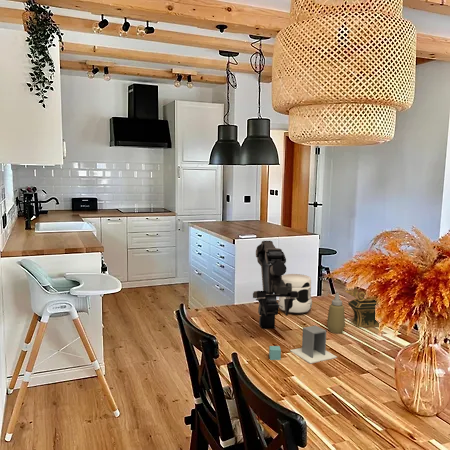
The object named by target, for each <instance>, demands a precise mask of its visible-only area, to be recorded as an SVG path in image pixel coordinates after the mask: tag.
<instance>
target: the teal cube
mask: <svg viewBox="0 0 450 450" xmlns="http://www.w3.org/2000/svg"><path fill="white" fill-rule="evenodd" d="M268 348H269V349H268V350H269V351H268V356H269V360H270V361H281V359H282V358H281V356H282V355H281V354H282V350H281V346H280V345H269V347H268Z"/></svg>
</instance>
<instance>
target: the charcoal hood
mask: <svg viewBox="0 0 450 450" xmlns="http://www.w3.org/2000/svg"><path fill="white" fill-rule="evenodd" d="M301 336H302V339H301V341H302V343H301V348H302V352H303V353H305V354H306V355H308V356H310V357H311V358H313V350H316V351H318V352H319V353H321V354H323V355H325V351H327V349H326V347H327V346H326V345H327V330H325V329H324V328H322V327H320V326H318V325H310V326H305V327H302V335H301Z"/></svg>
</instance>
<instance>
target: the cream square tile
mask: <svg viewBox="0 0 450 450" xmlns="http://www.w3.org/2000/svg"><path fill="white" fill-rule="evenodd" d="M290 353H293V354H294V355H296V356H297V357H299V358H300V359H302V360H304V362H307V364H315V363H316V364H317V363H321V362H325V361H328V360H333V359H338V356H337V355H335V354H333V353H331V352H330V351H328V350H326V351H325V355H323V354H321V353H319V352H318V351H316V350H313V358H311V357H310V356H308V355H306V354H305V353H303V352H302V347H299V348H294V349H293V348H292V349H290ZM320 361H321V362H320Z"/></svg>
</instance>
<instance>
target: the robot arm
mask: <svg viewBox="0 0 450 450" xmlns="http://www.w3.org/2000/svg"><path fill="white" fill-rule="evenodd" d="M255 257H256V259H257V263H258V264H259V266H260V267H261V268H260V270H261V282H262V284H261V285H262V290H256V291H253V292H252V299H255V300H256V301H258V307H257V308H258V309H257V310H258V311H257V313H258V314H259V319H258V322H259V323H258V324H259V327H260V328H261V329H262V330H264V329H265V330H269V329H270V330H271V329H272V330H273V329H275V330H276V316H278V314H279V310H280V307H279V303H278V299H277V298H279V297H286V299H284V303H285V312H284V314H285V316H288V314H289V313H288V312H289V309H290V306H291V303H292V302H293V300H296V299H295V298H299V295H298V292H297V291H292V284H291V283H286V284H284V283H283V280H282V275H286V272H287V266H286V263H287V258H286V256H285V253H284V251H283V249H281V248H277V247H276V246H275V245H274V242H273V241H271V240H263V241H261V243H260V244H259V245H257V247H256V249H255Z"/></svg>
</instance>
